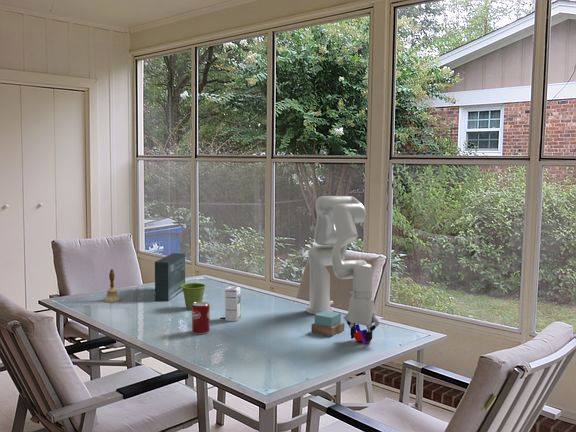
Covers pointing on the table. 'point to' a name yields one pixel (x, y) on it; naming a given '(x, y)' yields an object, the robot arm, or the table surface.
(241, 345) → the table surface
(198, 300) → the plant pot
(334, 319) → the tower top block
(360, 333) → the dreidel
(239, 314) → the syrup box
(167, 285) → the dark green box
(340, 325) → the tower base block
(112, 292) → the hand bell
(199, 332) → the soda can
